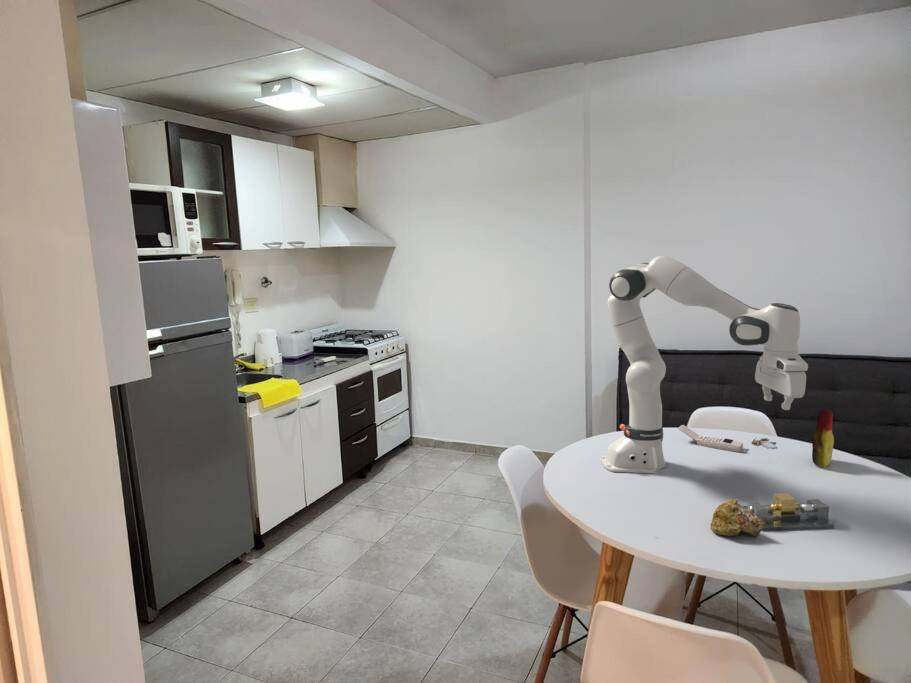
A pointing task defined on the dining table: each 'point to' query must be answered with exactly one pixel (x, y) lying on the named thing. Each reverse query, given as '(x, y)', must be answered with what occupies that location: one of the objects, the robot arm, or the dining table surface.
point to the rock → (735, 520)
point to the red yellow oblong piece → (823, 439)
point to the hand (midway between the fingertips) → (776, 404)
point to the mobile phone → (713, 441)
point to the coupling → (784, 504)
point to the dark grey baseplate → (793, 516)
